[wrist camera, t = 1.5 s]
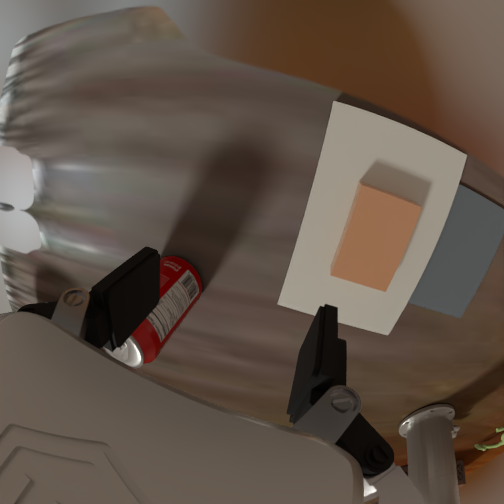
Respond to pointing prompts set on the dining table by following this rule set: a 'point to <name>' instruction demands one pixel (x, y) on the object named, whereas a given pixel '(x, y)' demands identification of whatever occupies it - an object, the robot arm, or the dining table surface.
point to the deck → (339, 203)
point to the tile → (374, 237)
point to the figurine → (483, 446)
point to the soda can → (162, 313)
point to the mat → (460, 254)
